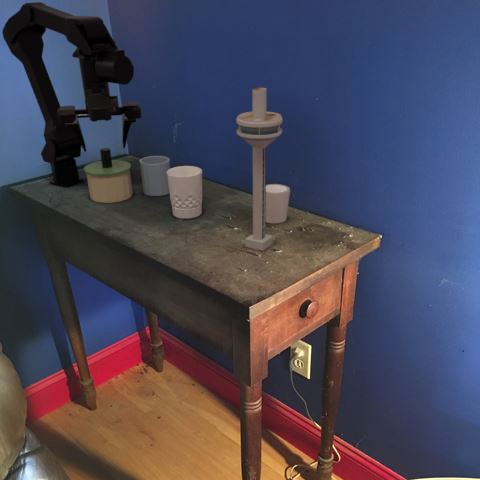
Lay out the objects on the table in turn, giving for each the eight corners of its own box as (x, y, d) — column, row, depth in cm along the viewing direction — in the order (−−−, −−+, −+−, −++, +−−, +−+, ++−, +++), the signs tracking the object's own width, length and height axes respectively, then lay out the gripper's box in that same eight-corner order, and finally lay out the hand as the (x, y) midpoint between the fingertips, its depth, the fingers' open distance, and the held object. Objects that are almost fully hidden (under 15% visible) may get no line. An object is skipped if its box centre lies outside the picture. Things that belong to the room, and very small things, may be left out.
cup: (137, 193, 143) (133, 161, 139) (155, 184, 148) (152, 154, 144) (160, 198, 140) (157, 166, 135) (177, 189, 145) (175, 158, 141)
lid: (84, 180, 133) (80, 157, 130) (84, 166, 142) (80, 145, 139) (133, 175, 135) (130, 153, 132) (129, 162, 144) (127, 141, 141)
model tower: (266, 257, 110) (268, 95, 94) (231, 248, 114) (226, 90, 98) (286, 241, 116) (291, 87, 100) (251, 233, 120) (251, 83, 104)
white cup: (206, 207, 133) (204, 166, 128) (201, 220, 127) (199, 177, 121) (174, 207, 134) (170, 165, 129) (167, 219, 127) (163, 176, 122)
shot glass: (287, 225, 124) (288, 194, 120) (256, 223, 125) (256, 192, 121) (291, 213, 129) (292, 184, 126) (261, 212, 131) (261, 182, 127)
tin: (91, 204, 136) (86, 176, 133) (90, 190, 145) (85, 164, 141) (134, 200, 138) (130, 172, 135) (130, 187, 147) (127, 160, 143)
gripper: (51, 89, 119) (64, 162, 127) (139, 83, 122) (147, 155, 131) (52, 80, 128) (65, 149, 136) (135, 75, 132) (142, 143, 140)
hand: (104, 149), depth 136 cm, fingers open, 9 cm apart
